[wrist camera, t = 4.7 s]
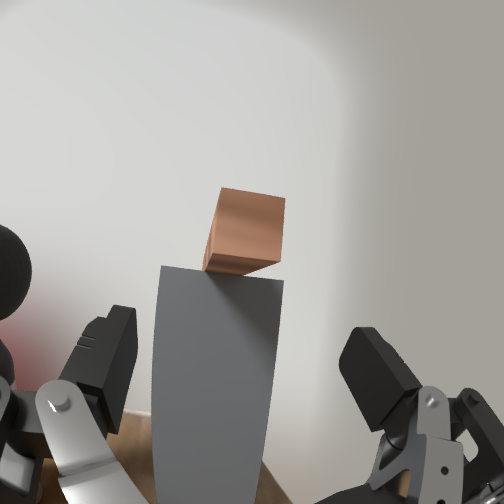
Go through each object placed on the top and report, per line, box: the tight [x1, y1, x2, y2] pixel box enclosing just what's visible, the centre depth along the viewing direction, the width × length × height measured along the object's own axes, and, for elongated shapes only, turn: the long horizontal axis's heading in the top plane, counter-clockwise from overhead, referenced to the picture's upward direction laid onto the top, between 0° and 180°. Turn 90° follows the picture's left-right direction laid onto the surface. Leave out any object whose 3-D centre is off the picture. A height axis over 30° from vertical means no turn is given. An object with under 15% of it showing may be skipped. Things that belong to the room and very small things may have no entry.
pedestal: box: [151, 266, 284, 504], centre depth 23 cm, size 8×10×32 cm
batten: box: [202, 188, 285, 276], centre depth 25 cm, size 26×3×3 cm, turn 12°
